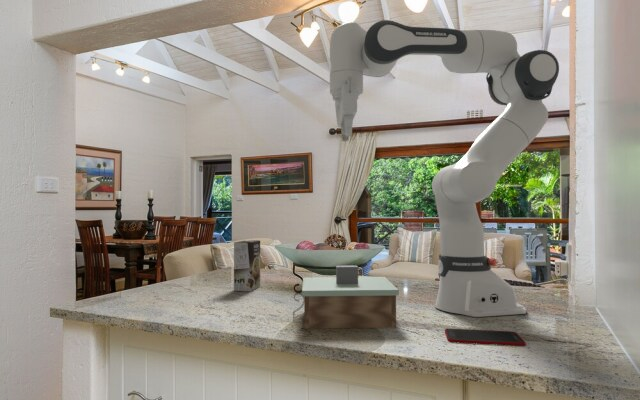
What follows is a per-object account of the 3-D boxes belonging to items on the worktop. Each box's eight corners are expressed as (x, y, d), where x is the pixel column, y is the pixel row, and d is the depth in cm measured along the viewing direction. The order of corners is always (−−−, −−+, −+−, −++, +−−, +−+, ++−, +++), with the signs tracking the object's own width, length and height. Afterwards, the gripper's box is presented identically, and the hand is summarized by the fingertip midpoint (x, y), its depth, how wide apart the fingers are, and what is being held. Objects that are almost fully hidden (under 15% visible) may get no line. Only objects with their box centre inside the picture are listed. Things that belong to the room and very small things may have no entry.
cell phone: (444, 332, 90) (444, 328, 90) (515, 336, 88) (515, 331, 88) (448, 344, 83) (448, 339, 83) (527, 348, 80) (527, 343, 80)
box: (383, 313, 106) (383, 281, 106) (396, 331, 90) (395, 294, 90) (305, 313, 105) (305, 282, 105) (304, 332, 89) (304, 295, 89)
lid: (384, 285, 106) (384, 261, 106) (398, 300, 89) (398, 271, 89) (303, 286, 106) (303, 261, 106) (302, 301, 89) (301, 272, 89)
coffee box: (251, 291, 134) (251, 242, 134) (233, 291, 135) (233, 241, 135) (261, 286, 143) (261, 239, 143) (243, 285, 144) (243, 239, 144)
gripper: (363, 73, 99) (363, 130, 99) (354, 96, 119) (354, 144, 119) (336, 73, 99) (337, 130, 99) (332, 96, 119) (332, 144, 119)
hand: (346, 138), depth 109 cm, fingers open, 8 cm apart
